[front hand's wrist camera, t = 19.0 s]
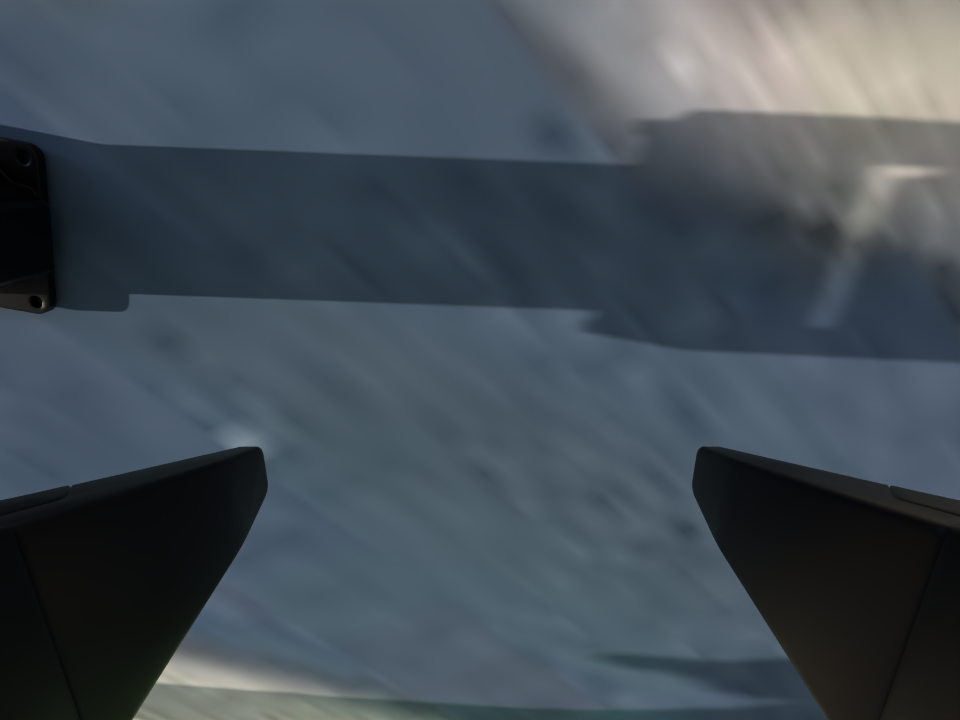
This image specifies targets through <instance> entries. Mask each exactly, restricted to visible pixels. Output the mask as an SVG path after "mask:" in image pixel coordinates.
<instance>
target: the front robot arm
mask: <svg viewBox="0 0 960 720" xmlns="http://www.w3.org/2000/svg"><path fill="white" fill-rule="evenodd" d="M25 151H26V152H27V153H28V154H29V157H30V161H29V163H28V162H27V161H26V160H25V158H24V152H25ZM37 296H38V297H40V298H41V299H42V302H43V304H40V303H39V302H38V300H37ZM55 306H56V291H55V279H54V257H53V244H52V231H51V219H50V208H49V204H48V191H47V179H46V166H45V158H44V154H43V153H42V151H41V150H40V149H39V148H38V147H37V146H36V145H34V144H31V143H28V142H23V141H18V140H12V139H7V138H2V137H0V307H2V308H8V309H14V310H19V311H25V312H31V313H36V314H42V313H45V312H48V311H50V310H53V309H54V308H55ZM267 488H268V481H267V475H266V468H265V462H264V455H263V452H262V450H261V448H259V447H238V448H233V449H229V450H224V451H220V452H216V453H211V454H207V455H203V456H198V457H194V458H190V459H185V460H181V461H176V462H172V463H168V464H163V465H159V466H155V467H150V468H146V469H141V470H137V471H133V472H128V473H124V474H120V475H115V476H111V477H106V478H102V479H98V480H93V481H89V482H85V483H80V484H76V485H73V486H72V487H71V488H70V486H64V487H59V488H55V489H51V490H46V491H42V492H37V493H33V494H28V495H23V496H19V497H14V498H10V499H5V500H0V720H132V719H133V718H134V716H135V715H136V713H137V711H138V710H139V708H140V707H141V705H142V703H143V702H144V700H145V699H146V697H147V696H148V694H149V692H150V691H151V689H152V688H153V686H154V684H155V683H156V681H157V680H158V678H159V677H160V675H161V673H162V672H163V670H164V669H165V667H166V666H167V664H168V662H169V661H170V659H171V658H172V656H173V654H174V653H175V651H176V650H177V648H178V647H179V645H180V643H181V642H182V640H183V639H184V637H185V636H186V634H187V632H188V631H189V629H190V628H191V626H192V624H193V623H194V621H195V620H196V618H197V617H198V615H199V613H200V612H201V610H202V609H203V607H204V606H205V604H206V602H207V601H208V599H209V598H210V596H211V594H212V593H213V591H214V590H215V588H216V587H217V585H218V583H219V582H220V580H221V579H222V577H223V576H224V574H225V572H226V571H227V569H228V568H229V566H230V564H231V563H232V561H233V560H234V558H235V557H236V555H237V553H238V552H239V550H240V548H241V547H242V545H243V543H244V541H245V539H246V537H247V535H248V533H249V531H250V528H251V526H252V524H253V522H254V520H255V518H256V516H257V513H258V511H259V509H260V507H261V505H262V503H263V500H264V498H265V496H266V493H267ZM692 488H693V493H694V496H695V498H696V500H697V503H698V505H699V507H700V509H701V511H702V513H703V515H704V518H705V520H706V522H707V524H708V526H709V528H710V531H711V533H712V535H713V537H714V539H715V541H716V543H717V545H718V547H719V548H720V550H721V552H722V553H723V555H724V557H725V558H726V560H727V561H728V563H729V564H730V566H731V568H732V569H733V571H734V572H735V574H736V576H737V577H738V579H739V580H740V582H741V583H742V585H743V587H744V588H745V590H746V591H747V593H748V594H749V596H750V598H751V599H752V601H753V602H754V604H755V605H756V607H757V609H758V610H759V612H760V613H761V615H762V617H763V618H764V620H765V621H766V623H767V624H768V626H769V628H770V629H771V631H772V632H773V634H774V635H775V637H776V639H777V640H778V642H779V643H780V645H781V647H782V648H783V650H784V651H785V653H786V654H787V656H788V658H789V659H790V661H791V662H792V664H793V666H794V667H795V669H796V670H797V672H798V673H799V675H800V677H801V678H802V680H803V681H804V683H805V684H806V686H807V688H808V689H809V691H810V692H811V694H812V696H813V697H814V699H815V700H816V702H817V703H818V705H819V707H820V708H821V710H822V711H823V713H824V714H825V716H826V718H827V719H828V720H960V500H955V499H950V498H946V497H941V496H937V495H932V494H927V493H923V492H918V491H914V490H909V489H905V488H901V487H896V486H890V488H889V487H888V486H887V485H884V484H880V483H876V482H871V481H867V480H862V479H858V478H854V477H849V476H845V475H841V474H836V473H832V472H827V471H823V470H819V469H814V468H810V467H806V466H801V465H797V464H792V463H788V462H784V461H779V460H775V459H771V458H766V457H762V456H757V455H753V454H749V453H744V452H740V451H736V450H731V449H727V448H722V447H701V448H699V450H698V452H697V455H696V462H695V468H694V475H693V481H692Z"/></svg>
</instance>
